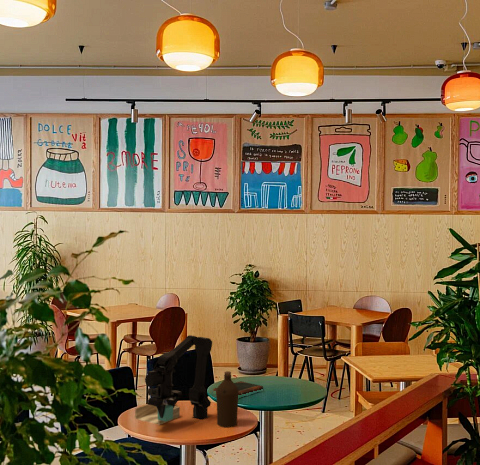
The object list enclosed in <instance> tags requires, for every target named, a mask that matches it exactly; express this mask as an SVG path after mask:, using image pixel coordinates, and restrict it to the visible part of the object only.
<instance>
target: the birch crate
mask: <svg viewBox="0 0 480 465" xmlns="http://www.w3.org/2000/svg"><path fill="white" fill-rule="evenodd" d="M180 409H181V408H180V406H177V405H175V406H174V408H173V419H171V420H168V421H162V420H158V409H157V407H156V406H153V405H148V403H147V404H144V405H141V406H138V407H136V408H135V409H134V419H135V420H138V421H141V422H147V423H151V424H153V425H154V424H155V425H158V426H160V425H163V424H165V423H168V422H170V421H174V420H176V419H179V418H180V416H181V414H180Z"/></svg>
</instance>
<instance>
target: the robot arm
mask: <svg viewBox="0 0 480 465" xmlns="http://www.w3.org/2000/svg"><path fill="white" fill-rule="evenodd" d="M193 346H194V350H195V353H196V356H197V357H196V364H195V365H196V366H195V373H194V383H193V386H192V387H189V390H188V400H189V401H190V405H191V406H193V408H192V419H195V420H205V419H208V418H210V416H208V409H209V407H211V403H212V401H211V400H210V399H209V398H208V393H207V389H206V387H205V383H206V382H205V380H206V373H207V363H208V362H207V361H208V356H209V354H210V353H211V351H212V348H213V347H212V346H213V341H212V339H211V338H208V337H204V336H196V335H192V334H190V335H187V336H186V338H184V339H183V340H182V341H181V342H179V343H178V345H176V346H175V347H174V348H173V349H171V350H170V351H167V352H164V353H162V354H160V355H159V357H158V358H157V361H156V363H155V365H154V367H153V369H152V371H151V370H150V371H149V370H148V371H147V374H146V376H145V377H144V383H145V386H147V387H148V389H147V395H148V396H150V397H149V398H148V399H147V404H148V405H153V406H156V407H157V409H158V412H159V415H160V418H163V415H164V411H165V407H166V404H164V401H165V400H166V401H167V405H171V406H173V408H174V406H177V403H178V401H179V399H183V396H184V394H183V392H182V391H180V390H175V389H174V390H173V388H174V387H175V385H174V384H173V373H176V372H177V371H176V369H174V367H175V366H176V364H177V363H178V360H179V358H180V357H182V356H183V355H184V354H186V352H187V351H188V350H190V349H191V348H193ZM155 386H156V388H154V387H155ZM153 396H157V397H153ZM158 397H160V398H158Z"/></svg>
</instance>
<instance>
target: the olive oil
mask: <svg viewBox="0 0 480 465" xmlns="http://www.w3.org/2000/svg"><path fill="white" fill-rule="evenodd" d="M223 373H224V375H223V380H222V382H221V383H220V384H219V385H218V386H217V387H216V388H217V391H216V395H215V396H216V424H217V426H219V427H222V428H234V427H236V426H237V424H238V407H239V399H238V395H239V391H238V388H237V386H236V385H235V384H234V383H235V382H234V381H233V379H232V372H231V371H224V372H223Z"/></svg>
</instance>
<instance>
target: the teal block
mask: <svg viewBox="0 0 480 465" xmlns="http://www.w3.org/2000/svg"><path fill="white" fill-rule="evenodd" d="M171 419H173V406H171V405H167V404H166V407H165V411H164V415H163V418H160V415H159V412H158V420H162V421H168V420H171ZM171 421H172V420H171ZM168 422H169V421H168Z"/></svg>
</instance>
